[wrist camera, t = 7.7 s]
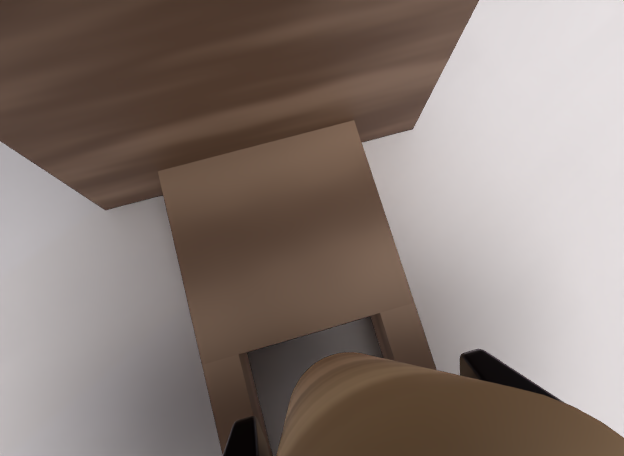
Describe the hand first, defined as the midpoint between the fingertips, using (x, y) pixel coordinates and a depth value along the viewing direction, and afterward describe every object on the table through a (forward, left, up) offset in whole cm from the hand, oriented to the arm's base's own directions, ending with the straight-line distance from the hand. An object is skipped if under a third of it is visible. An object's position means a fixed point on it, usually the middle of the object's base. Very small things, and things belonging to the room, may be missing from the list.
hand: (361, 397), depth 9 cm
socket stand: (+3, -1, -14) cm, 14 cm away
